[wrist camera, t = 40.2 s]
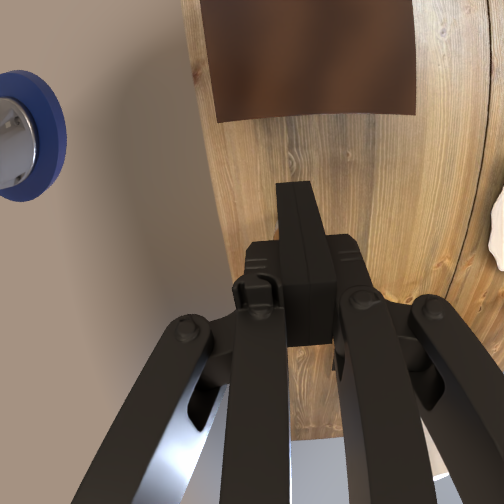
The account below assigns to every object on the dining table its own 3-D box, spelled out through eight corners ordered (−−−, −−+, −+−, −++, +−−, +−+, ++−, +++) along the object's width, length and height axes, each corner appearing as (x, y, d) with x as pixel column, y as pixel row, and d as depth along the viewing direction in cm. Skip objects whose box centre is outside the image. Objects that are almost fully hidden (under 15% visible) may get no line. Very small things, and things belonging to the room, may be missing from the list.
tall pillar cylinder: (406, 423, 91) (417, 485, 71) (411, 411, 85) (424, 479, 65) (433, 416, 89) (447, 476, 69) (440, 403, 83) (456, 469, 63)
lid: (218, 121, 26) (217, 123, 25) (197, -26, 18) (196, -28, 17) (411, 113, 25) (415, 115, 24) (405, -24, 17) (408, -26, 16)
